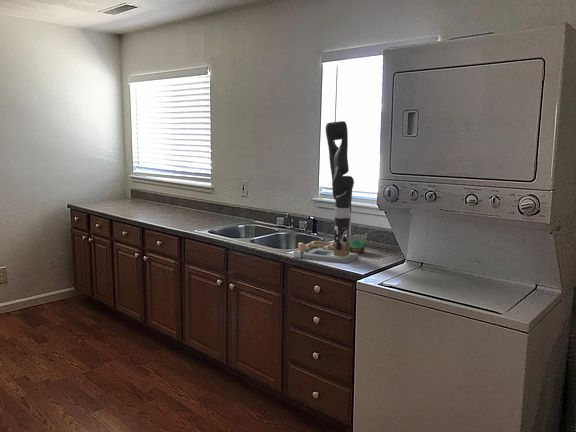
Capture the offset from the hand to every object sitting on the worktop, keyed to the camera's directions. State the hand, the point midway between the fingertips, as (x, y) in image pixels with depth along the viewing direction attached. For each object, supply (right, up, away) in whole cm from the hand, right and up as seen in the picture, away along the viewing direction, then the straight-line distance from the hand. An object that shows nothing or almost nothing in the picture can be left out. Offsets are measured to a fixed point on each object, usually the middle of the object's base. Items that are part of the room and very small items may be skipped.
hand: (341, 248), depth 255 cm
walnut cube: (0, -3, +1) cm, 3 cm away
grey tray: (-5, -5, +3) cm, 8 cm away
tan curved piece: (-10, -2, +22) cm, 24 cm away
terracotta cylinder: (-20, -4, +10) cm, 23 cm away
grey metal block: (-22, -5, +5) cm, 23 cm away
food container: (+10, -4, +13) cm, 17 cm away
